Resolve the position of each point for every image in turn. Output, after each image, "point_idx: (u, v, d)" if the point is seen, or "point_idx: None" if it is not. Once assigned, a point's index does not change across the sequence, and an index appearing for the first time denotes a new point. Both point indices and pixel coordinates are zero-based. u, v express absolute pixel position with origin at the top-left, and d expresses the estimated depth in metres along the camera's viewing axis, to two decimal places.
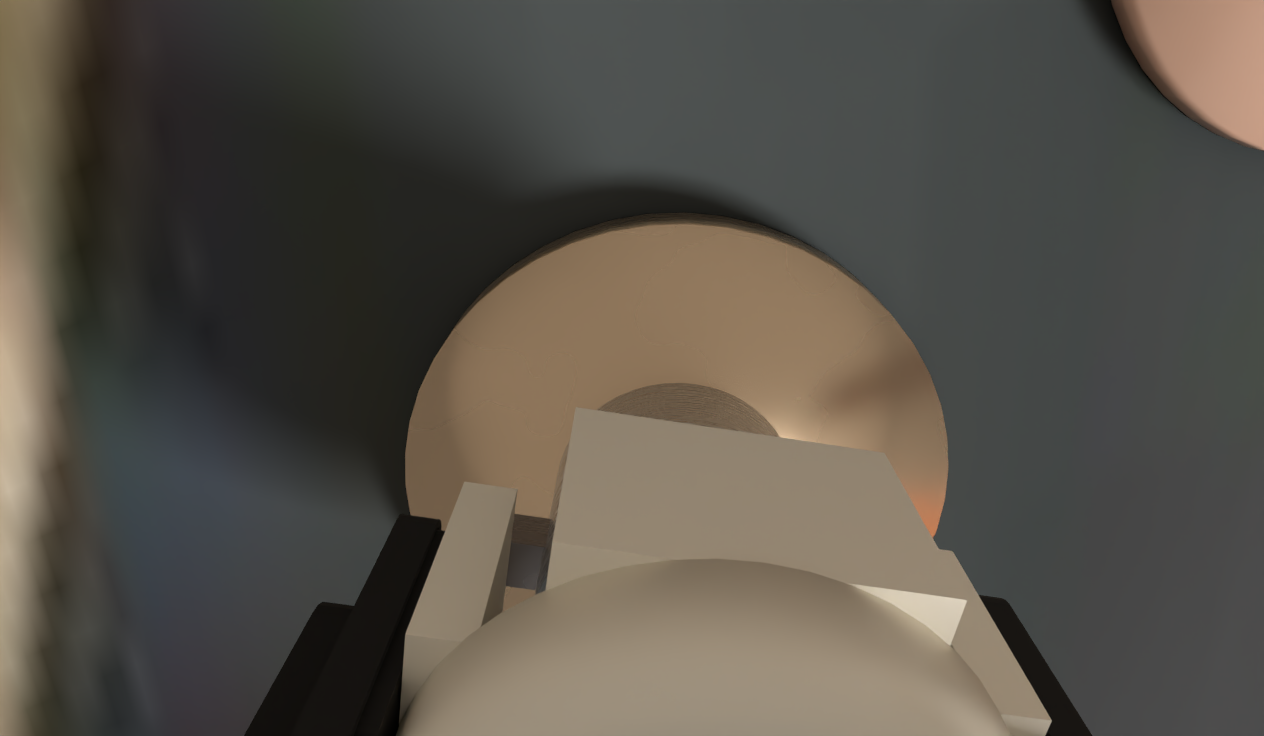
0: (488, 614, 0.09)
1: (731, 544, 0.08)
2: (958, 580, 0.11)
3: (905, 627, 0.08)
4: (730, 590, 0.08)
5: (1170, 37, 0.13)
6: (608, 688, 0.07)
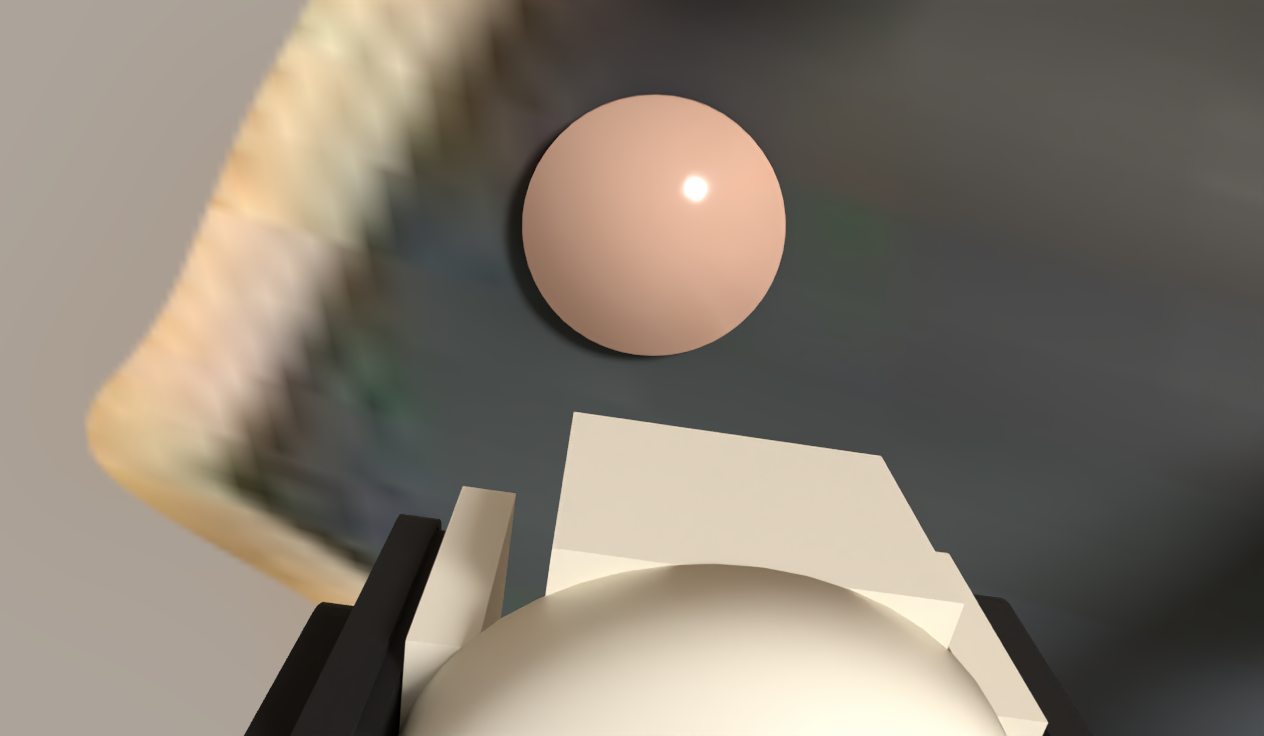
0: (488, 619, 0.09)
1: (729, 549, 0.08)
2: (954, 582, 0.11)
3: (903, 631, 0.08)
4: (729, 595, 0.08)
5: (685, 345, 0.31)
6: (609, 694, 0.07)
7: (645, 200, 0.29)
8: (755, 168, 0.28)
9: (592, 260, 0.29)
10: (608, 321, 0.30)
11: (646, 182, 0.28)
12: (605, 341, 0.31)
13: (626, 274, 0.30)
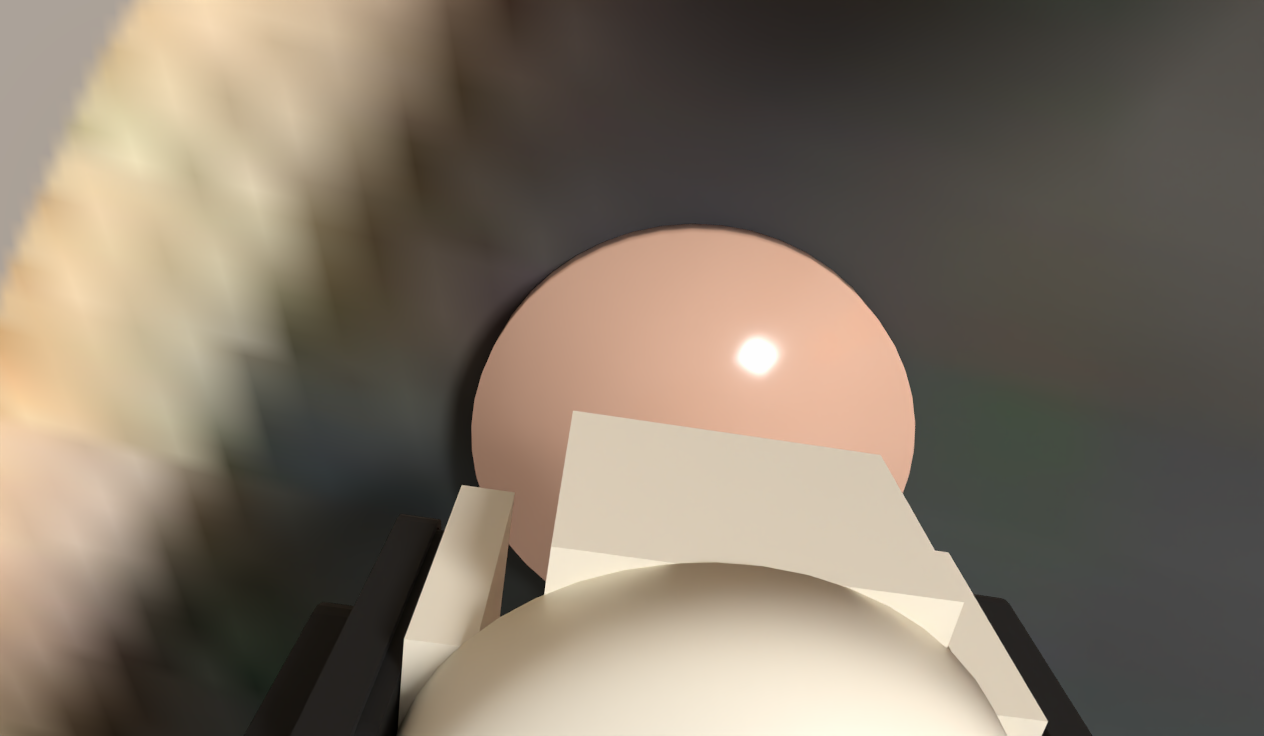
0: (486, 618, 0.09)
1: (728, 549, 0.08)
2: (954, 581, 0.11)
3: (902, 629, 0.08)
4: (728, 594, 0.08)
5: None
6: (608, 693, 0.07)
7: (677, 400, 0.17)
8: (866, 347, 0.16)
9: None
10: None
11: (678, 372, 0.17)
12: None
13: None
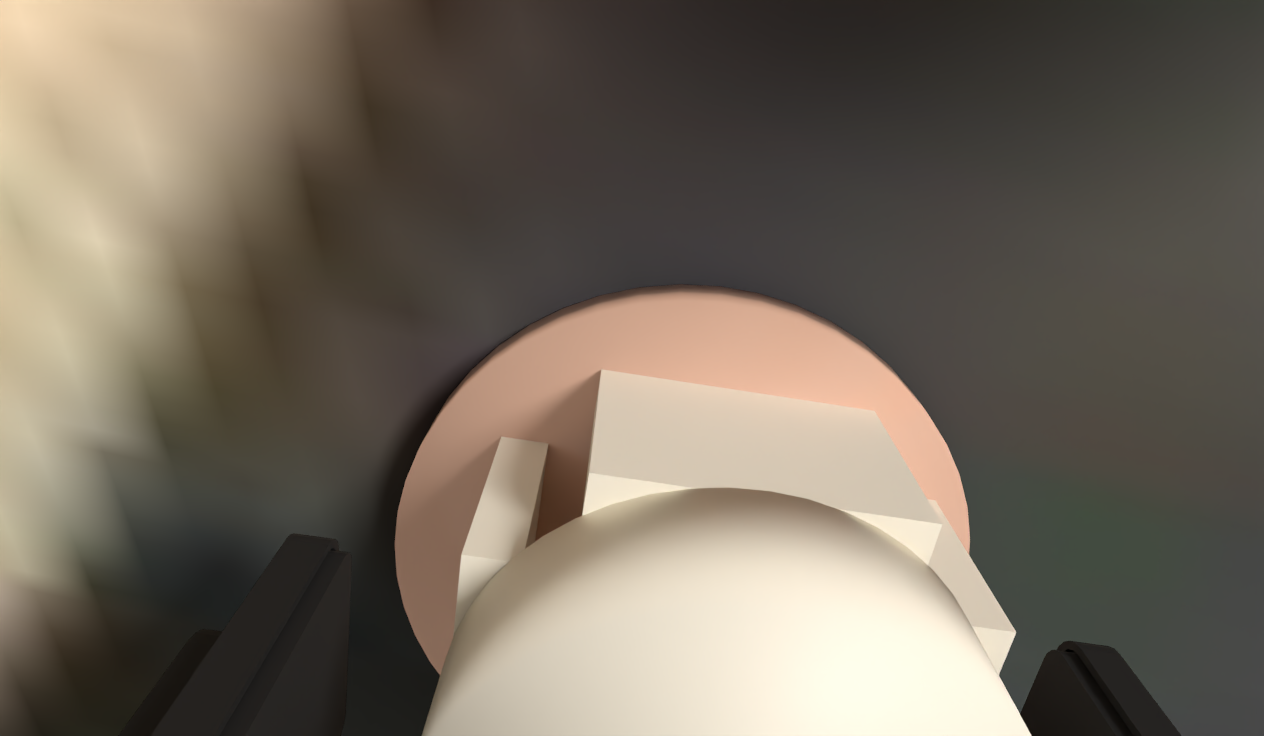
0: (528, 545, 0.11)
1: (740, 478, 0.10)
2: None
3: (888, 545, 0.09)
4: (740, 510, 0.09)
5: None
6: (641, 581, 0.08)
7: None
8: (908, 446, 0.12)
9: None
10: None
11: None
12: None
13: None
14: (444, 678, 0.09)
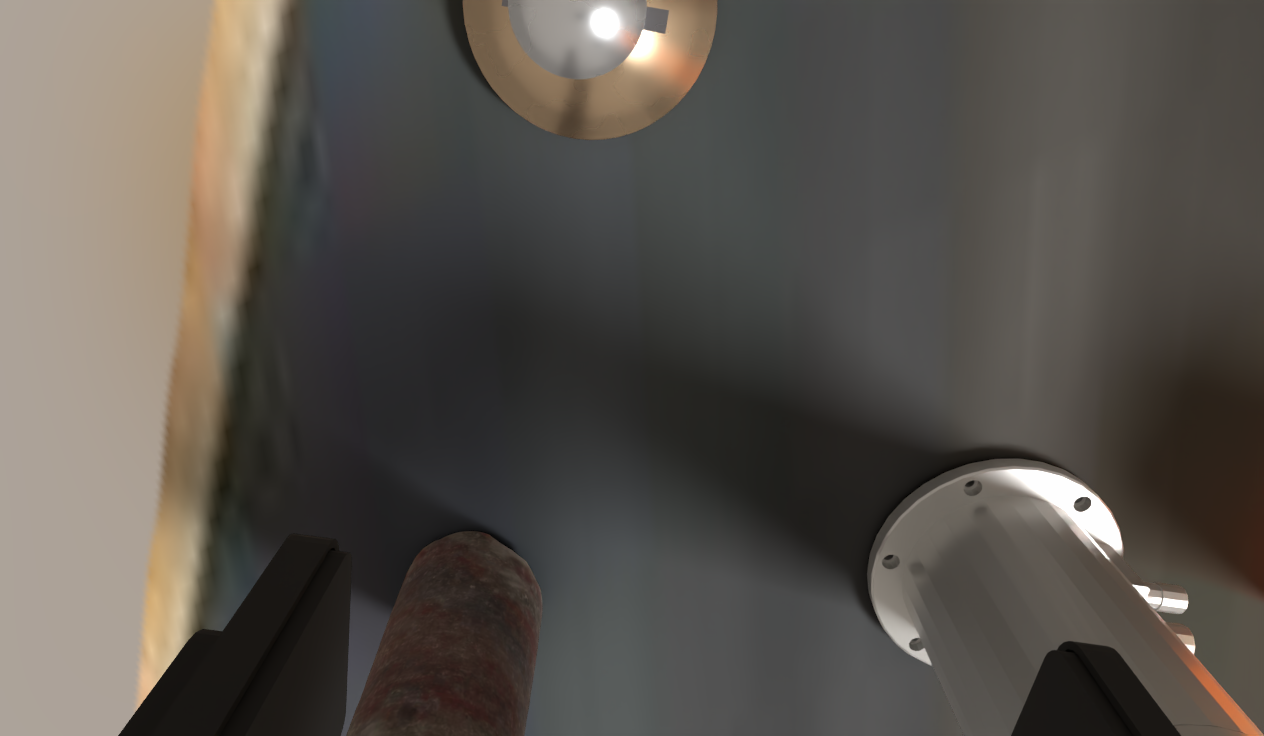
0: None
1: None
2: None
3: None
4: None
5: None
6: None
7: None
8: None
9: None
10: None
11: None
12: None
13: None
14: None
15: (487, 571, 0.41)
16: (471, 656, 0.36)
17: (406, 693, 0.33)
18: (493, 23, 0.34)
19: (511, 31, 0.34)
